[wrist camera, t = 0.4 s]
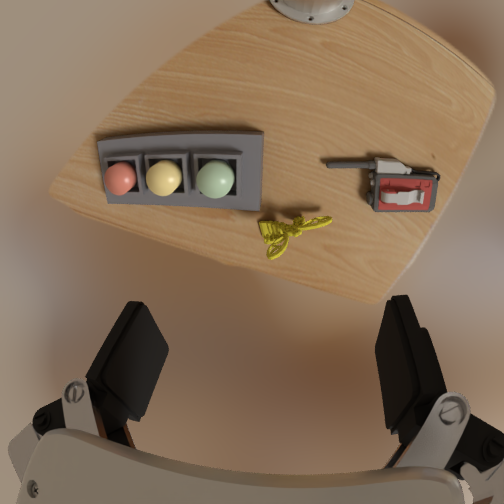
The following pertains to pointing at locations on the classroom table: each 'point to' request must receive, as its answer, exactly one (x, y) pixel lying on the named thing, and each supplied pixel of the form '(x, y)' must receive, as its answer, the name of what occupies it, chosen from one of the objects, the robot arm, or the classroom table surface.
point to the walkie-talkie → (396, 185)
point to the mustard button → (164, 177)
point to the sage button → (215, 178)
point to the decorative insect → (287, 232)
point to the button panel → (189, 165)
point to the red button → (120, 178)
